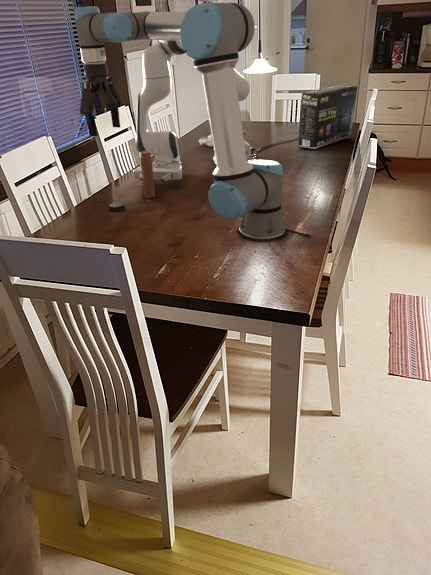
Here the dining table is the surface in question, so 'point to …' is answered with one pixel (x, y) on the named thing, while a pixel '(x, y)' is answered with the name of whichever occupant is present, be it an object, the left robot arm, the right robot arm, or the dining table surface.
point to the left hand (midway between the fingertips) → (152, 179)
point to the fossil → (206, 141)
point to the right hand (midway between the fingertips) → (105, 131)
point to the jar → (147, 174)
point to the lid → (116, 206)
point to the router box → (326, 115)
